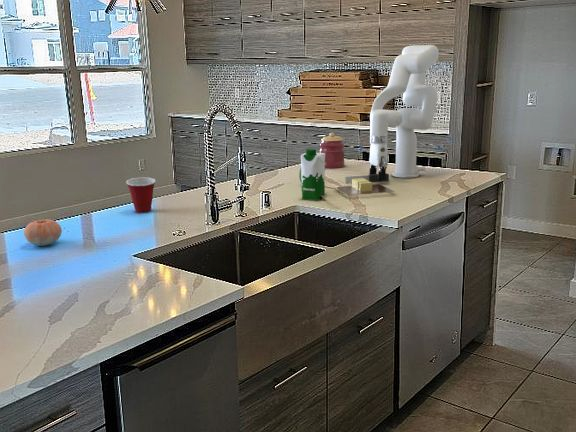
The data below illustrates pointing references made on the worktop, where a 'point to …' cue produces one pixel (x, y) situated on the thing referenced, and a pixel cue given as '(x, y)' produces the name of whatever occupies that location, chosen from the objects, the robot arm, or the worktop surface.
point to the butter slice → (365, 186)
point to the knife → (366, 178)
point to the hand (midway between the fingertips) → (377, 178)
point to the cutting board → (375, 189)
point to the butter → (357, 183)
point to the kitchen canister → (333, 151)
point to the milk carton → (313, 175)
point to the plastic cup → (141, 193)
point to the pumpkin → (42, 232)
